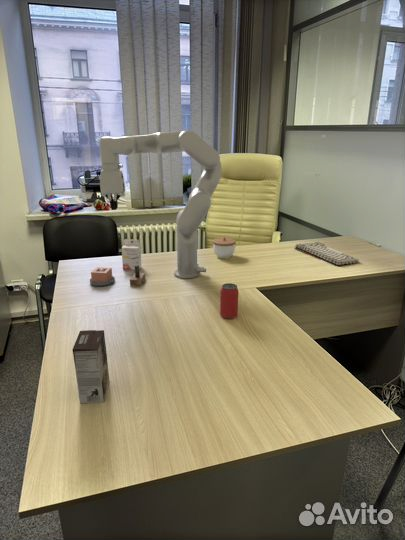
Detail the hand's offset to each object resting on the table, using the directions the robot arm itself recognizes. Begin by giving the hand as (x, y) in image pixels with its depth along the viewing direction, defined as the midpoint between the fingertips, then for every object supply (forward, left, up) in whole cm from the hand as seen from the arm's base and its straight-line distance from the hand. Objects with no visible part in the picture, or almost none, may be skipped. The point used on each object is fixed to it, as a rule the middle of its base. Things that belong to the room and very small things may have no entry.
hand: (114, 209), depth 166 cm
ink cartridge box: (-3, -11, -32) cm, 34 cm away
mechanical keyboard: (-105, -46, -33) cm, 119 cm away
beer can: (-54, +35, -32) cm, 72 cm away
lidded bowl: (-48, -36, -32) cm, 68 cm away
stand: (-11, +7, -32) cm, 35 cm away
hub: (+5, +9, -32) cm, 34 cm away
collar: (+5, +9, -30) cm, 32 cm away
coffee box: (-21, +83, -32) cm, 92 cm away
